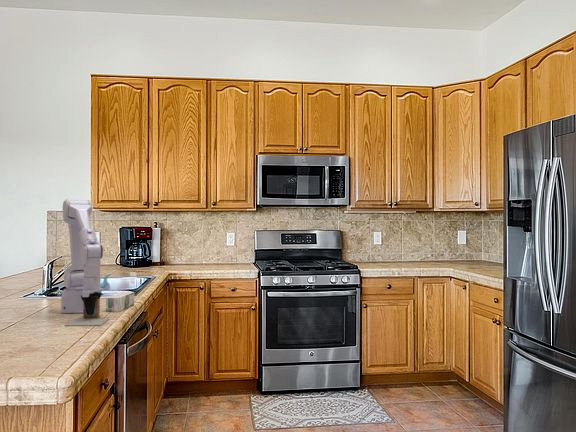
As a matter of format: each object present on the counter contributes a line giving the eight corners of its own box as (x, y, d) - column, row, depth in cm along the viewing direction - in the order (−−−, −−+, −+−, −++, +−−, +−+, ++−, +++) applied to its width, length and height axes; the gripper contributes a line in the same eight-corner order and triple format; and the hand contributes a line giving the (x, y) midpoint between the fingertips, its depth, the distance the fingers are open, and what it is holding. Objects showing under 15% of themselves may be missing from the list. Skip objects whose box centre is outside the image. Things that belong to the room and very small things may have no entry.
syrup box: (121, 291, 202) (104, 297, 187) (135, 291, 201) (119, 297, 186) (121, 304, 202) (104, 311, 187) (134, 305, 201) (118, 312, 186)
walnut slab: (83, 319, 173) (83, 299, 173) (85, 317, 175) (85, 298, 176) (97, 318, 173) (97, 299, 174) (99, 317, 176) (99, 298, 176)
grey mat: (64, 326, 162) (64, 325, 162) (74, 319, 171) (74, 318, 171) (101, 325, 163) (101, 324, 163) (109, 319, 173) (109, 318, 173)
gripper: (97, 279, 168) (96, 317, 168) (108, 274, 182) (108, 309, 182) (76, 279, 167) (76, 317, 167) (89, 274, 181) (89, 309, 181)
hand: (91, 313), depth 174 cm, fingers closed on walnut slab, 2 cm apart
